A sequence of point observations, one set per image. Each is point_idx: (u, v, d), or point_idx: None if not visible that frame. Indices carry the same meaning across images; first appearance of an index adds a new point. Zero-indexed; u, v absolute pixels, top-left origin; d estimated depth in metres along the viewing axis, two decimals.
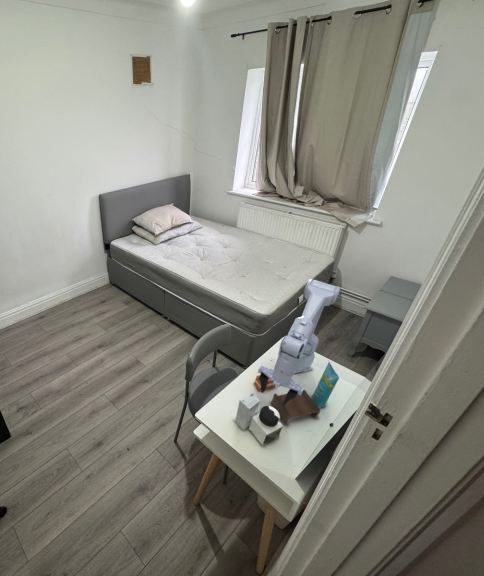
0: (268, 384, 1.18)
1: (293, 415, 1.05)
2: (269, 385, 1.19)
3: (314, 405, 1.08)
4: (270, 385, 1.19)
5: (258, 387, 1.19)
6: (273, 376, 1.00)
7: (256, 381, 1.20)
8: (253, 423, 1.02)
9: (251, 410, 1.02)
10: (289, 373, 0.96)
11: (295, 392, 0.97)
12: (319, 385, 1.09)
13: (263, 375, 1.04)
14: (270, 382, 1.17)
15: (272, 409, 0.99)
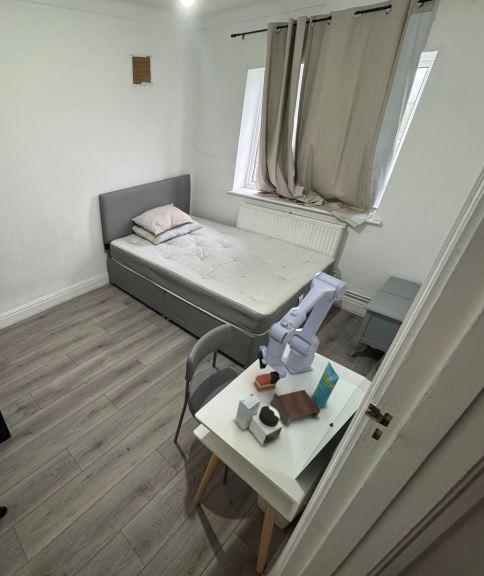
0: (268, 384, 1.18)
1: (293, 415, 1.05)
2: (269, 385, 1.19)
3: (314, 405, 1.08)
4: (270, 385, 1.19)
5: (258, 387, 1.19)
6: (265, 355, 1.13)
7: (256, 381, 1.20)
8: (253, 423, 1.02)
9: (251, 410, 1.02)
10: (276, 356, 1.07)
11: (278, 374, 1.09)
12: (319, 385, 1.09)
13: (262, 353, 1.18)
14: None
15: (272, 409, 0.99)
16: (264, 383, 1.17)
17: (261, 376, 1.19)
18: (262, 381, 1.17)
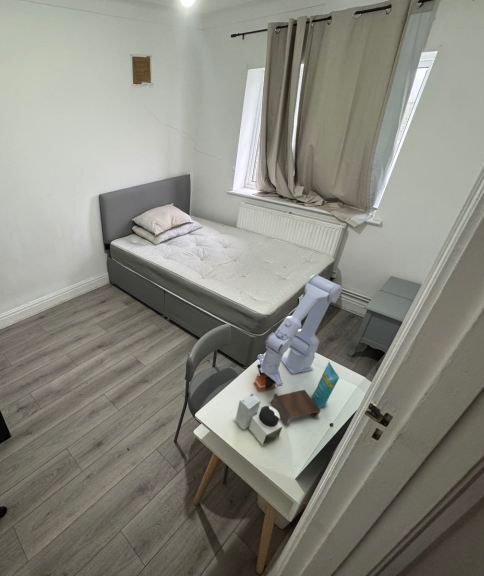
0: None
1: (293, 415, 1.05)
2: None
3: (314, 405, 1.08)
4: None
5: (258, 387, 1.19)
6: (262, 364, 1.16)
7: (256, 381, 1.20)
8: (253, 423, 1.02)
9: (251, 410, 1.02)
10: (273, 365, 1.10)
11: (272, 379, 1.13)
12: (319, 385, 1.09)
13: None
14: None
15: (272, 409, 0.99)
16: (264, 383, 1.17)
17: (261, 376, 1.19)
18: (262, 381, 1.17)
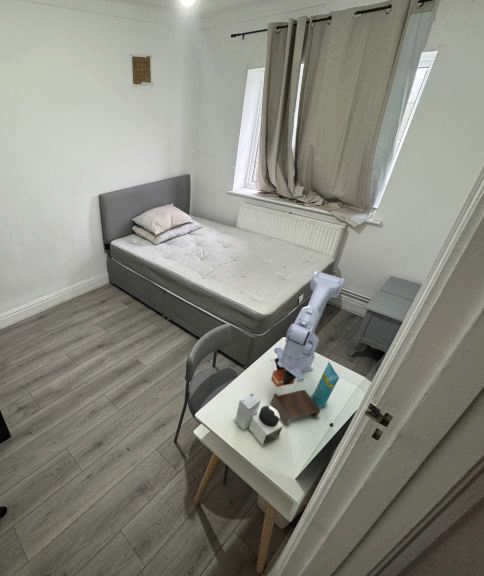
0: None
1: (293, 415, 1.05)
2: None
3: (314, 405, 1.08)
4: None
5: (275, 383, 1.10)
6: (281, 357, 1.07)
7: (273, 376, 1.11)
8: (253, 423, 1.02)
9: (251, 410, 1.02)
10: (296, 358, 1.01)
11: (292, 374, 1.04)
12: (319, 385, 1.09)
13: None
14: None
15: (272, 409, 0.99)
16: (282, 378, 1.08)
17: (279, 371, 1.09)
18: (280, 376, 1.08)
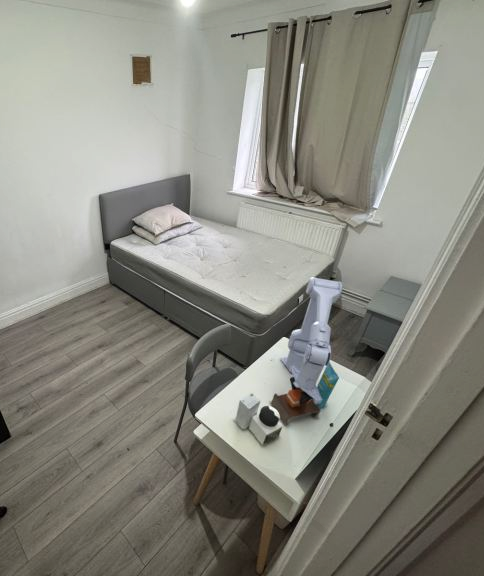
0: None
1: (293, 415, 1.05)
2: None
3: (314, 405, 1.08)
4: None
5: (291, 403, 1.06)
6: (297, 377, 1.03)
7: (288, 396, 1.07)
8: (253, 423, 1.02)
9: (251, 410, 1.02)
10: (316, 379, 0.98)
11: (309, 395, 1.00)
12: (319, 385, 1.09)
13: None
14: None
15: (272, 409, 0.99)
16: (298, 399, 1.04)
17: (295, 391, 1.06)
18: (296, 397, 1.04)
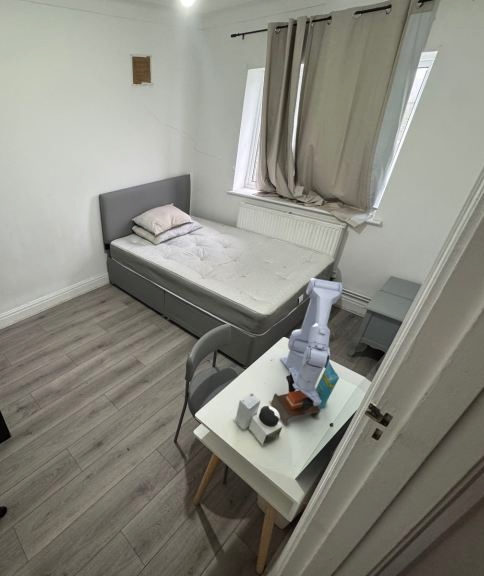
0: (301, 402, 1.06)
1: (293, 415, 1.05)
2: (302, 403, 1.07)
3: None
4: None
5: (290, 405, 1.07)
6: (296, 379, 1.04)
7: (287, 398, 1.08)
8: (253, 423, 1.02)
9: (251, 410, 1.02)
10: (315, 381, 0.98)
11: (311, 401, 0.99)
12: (319, 385, 1.09)
13: (291, 376, 1.08)
14: None
15: (272, 409, 0.99)
16: (297, 401, 1.05)
17: (294, 393, 1.07)
18: (295, 399, 1.05)
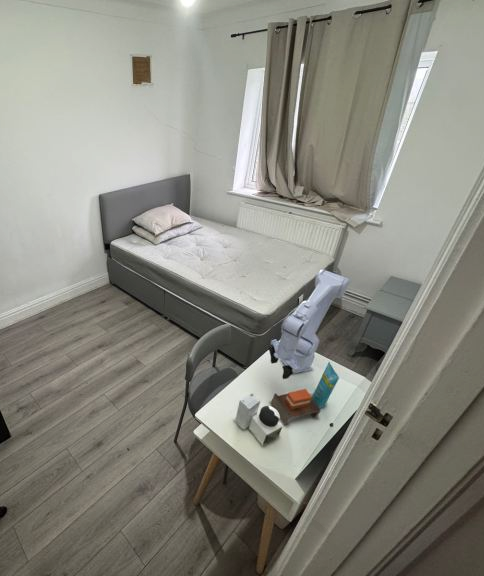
0: (301, 402, 1.06)
1: (293, 415, 1.05)
2: (302, 403, 1.07)
3: (314, 405, 1.08)
4: (303, 403, 1.07)
5: (290, 405, 1.07)
6: (277, 349, 1.10)
7: (287, 398, 1.08)
8: (253, 423, 1.02)
9: (251, 410, 1.02)
10: (291, 349, 1.04)
11: (291, 368, 1.06)
12: (319, 385, 1.09)
13: (273, 347, 1.14)
14: (304, 400, 1.05)
15: (272, 409, 0.99)
16: (297, 401, 1.05)
17: (294, 393, 1.07)
18: (295, 399, 1.05)
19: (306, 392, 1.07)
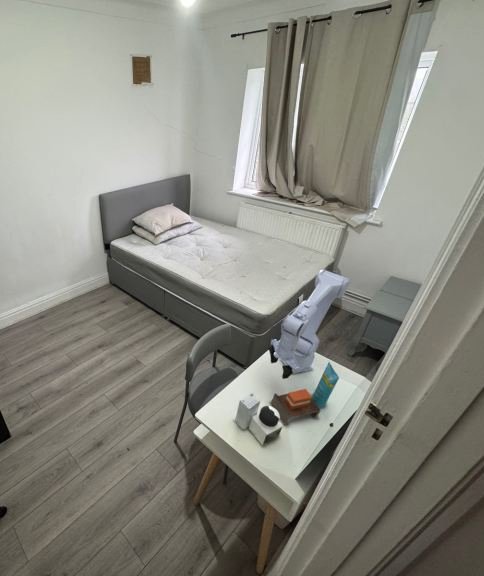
0: (301, 402, 1.06)
1: (293, 415, 1.05)
2: (302, 403, 1.07)
3: (314, 405, 1.08)
4: (303, 403, 1.07)
5: (290, 405, 1.07)
6: (277, 349, 1.10)
7: (287, 398, 1.08)
8: (253, 423, 1.02)
9: (251, 410, 1.02)
10: (290, 349, 1.04)
11: (290, 368, 1.06)
12: (319, 385, 1.09)
13: (273, 347, 1.14)
14: (304, 400, 1.05)
15: (272, 409, 0.99)
16: (297, 401, 1.05)
17: (294, 393, 1.07)
18: (295, 399, 1.05)
19: (306, 392, 1.07)
